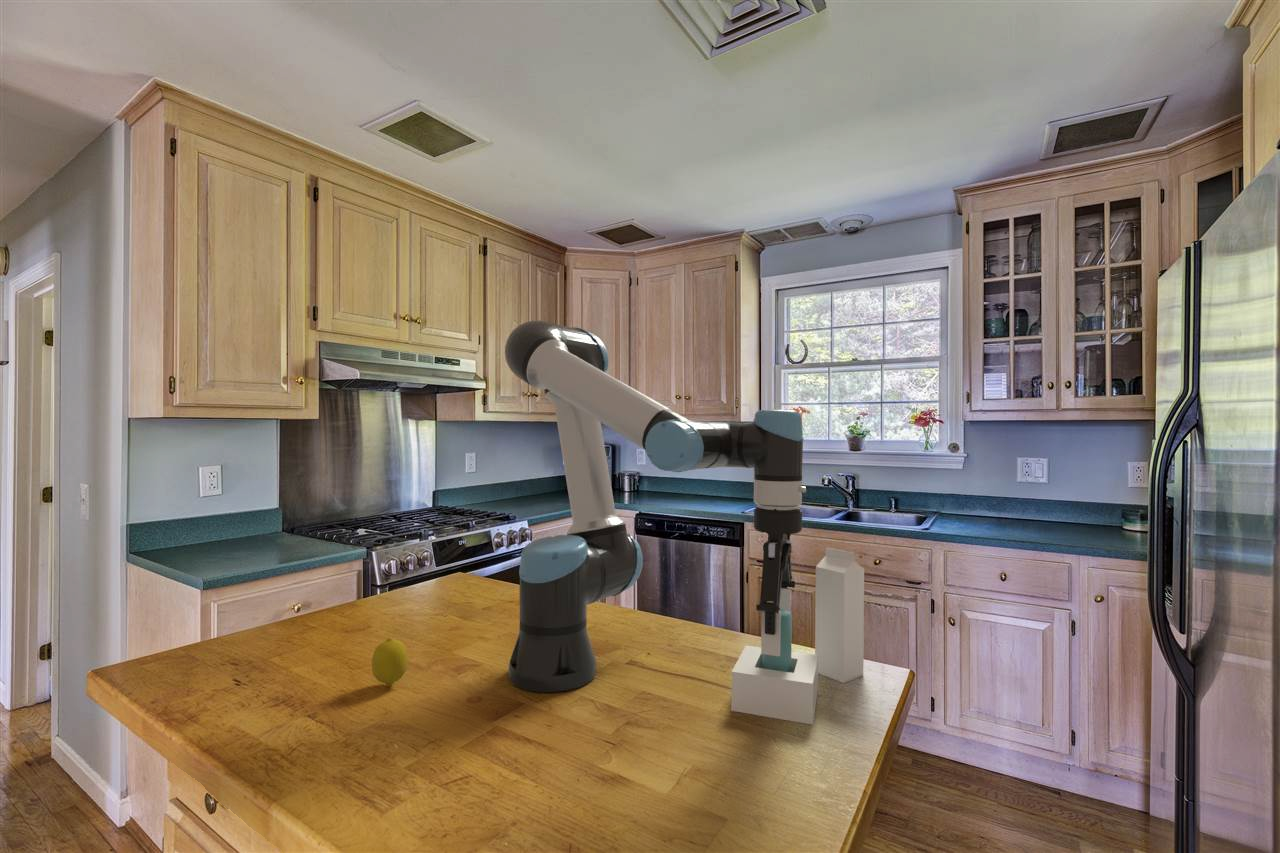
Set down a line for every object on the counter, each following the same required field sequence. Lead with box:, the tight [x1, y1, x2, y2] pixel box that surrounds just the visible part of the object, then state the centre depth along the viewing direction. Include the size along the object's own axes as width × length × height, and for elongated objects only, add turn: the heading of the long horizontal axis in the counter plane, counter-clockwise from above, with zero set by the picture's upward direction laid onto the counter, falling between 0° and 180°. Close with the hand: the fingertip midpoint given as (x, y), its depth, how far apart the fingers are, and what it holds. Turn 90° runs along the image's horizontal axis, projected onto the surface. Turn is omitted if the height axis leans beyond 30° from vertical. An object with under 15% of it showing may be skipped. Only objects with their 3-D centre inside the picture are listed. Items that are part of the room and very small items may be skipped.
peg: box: [762, 609, 793, 672], centre depth 96 cm, size 4×4×14 cm
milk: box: [814, 547, 865, 684], centre depth 107 cm, size 6×6×22 cm
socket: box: [730, 645, 819, 725], centre depth 96 cm, size 12×12×6 cm
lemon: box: [371, 637, 409, 687], centre depth 100 cm, size 6×6×8 cm
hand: (776, 639), depth 96 cm, fingers open, 13 cm apart
